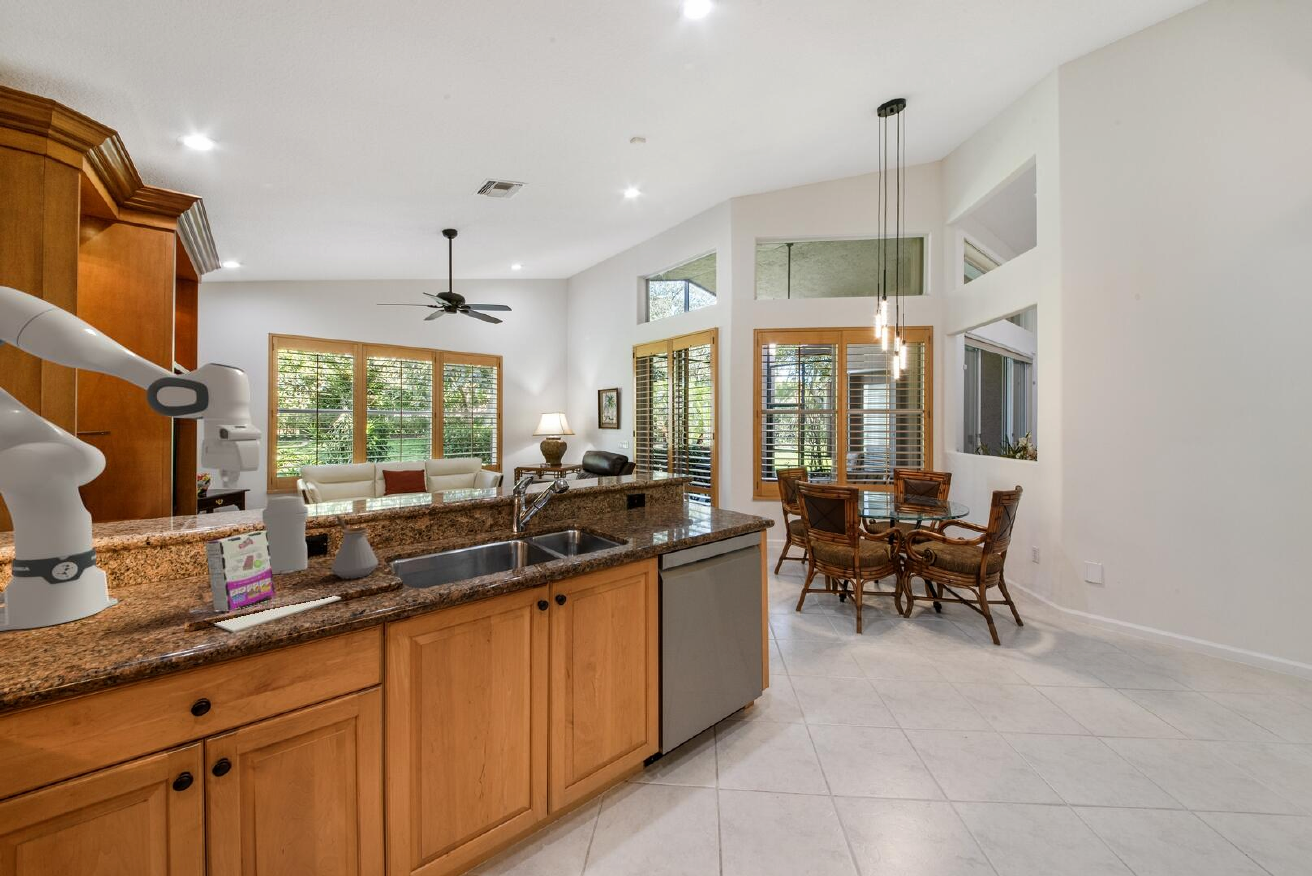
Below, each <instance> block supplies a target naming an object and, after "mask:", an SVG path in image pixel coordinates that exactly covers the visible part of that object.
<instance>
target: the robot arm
mask: <svg viewBox="0 0 1312 876" xmlns="http://www.w3.org/2000/svg"><path fill="white" fill-rule="evenodd" d="M5 343H7V344H9V345H11V346H13V347H16V348H17V349H20V350H22V351H23V352H25V353H28V354H31V355H32V356H34V357H37V358H39V359H43V360H45V361H48V362H50V363H54V364H57V365H61V366H65V367H69V368H75V369H79V370H86V371H91V372H95V373H102V374H105V375H110V376H114V377H117V378H120V379H122V380H124V381H127V382H129V383H132V384H133V385H136V386H137V387H140V388H141V389H144V390H146V393H145V394H146V402H147V404H148V406H149V407H150V408H151V409H152V411H154V412H155V413H157V414H159V415H162V416H165V417H169V418H176V419H178V418H179V419H192V420H203V440H202V442H201V449H200V450H201V452H200V453H201V454H200V455H201V456H200V462H201V463H200V464H201V466H202V468H203V469H210V470H218V471H219V473H218V474H219V477H220V479H221V481H222V489H226V490H227V489H229V490H234V489H235V490H236V489H237V488H238V481H239V479H240V475H241V473H243V472H244V473H245V472H255V471H258V470H259V467H260V465H261V444H260V441H259V440H261V439H262V431H261V430H260V429H259V428H257V427H256V426H255V425H254V424H252V416H251V414H250V405H251V400H252V399H251V397H252V396H251V387H250V381H249V380H250V379H249V377H248V374H247V373H246V372H245V371H244V370H243V369H241V368H240V367H235V366H232V365H229V364H228V365H227V364H222V363H215V362H209V363H205V364H204V365H203V366H202V367H199V368H198V369H197V368H196V369H194V370H192V371H187V372H185V373H180V374H178V373H176V372H174V371H173V372H172V371H171V370H169V369H166V368H164V367H163V366H161V365H159V364H156V363H154V362H152V361H151V360H148V359H147V358H144V357H142V356H140V355H138V354H136V353H134V352H133V351H132V350H130V349H128V348H126V347H125V346H124V345H121V344H120V343H118V342H117V341H115V340H114V339H112V338H111V337H109V336H107V335H106V334H105V333H103V332H101V331H100V330H99V329H97V328H95V327H94V326H92V325H91V324H89V322H88V323H87V322H86V321H84V320H83V319H81V318H80V317H78V316H76V315H74V314H73V313H70V312H69V311H67V310H65V309H63V308H60V307H58V306H56V304H53V303H50V302H48V301H46V300H43V299H41V298H39V297H36V296H34V295H31V294H29V293H26V292H23V291H21V290H18V289H15V288H11V287H8V286H3V285H0V348H1V347H2V346H3V345H5ZM106 463H107V462H106V457H105V455H104V454H103V452H102V451H101V450H100V449H98V448H97V447H95V446H94V445H91V444H89V443H87V442H85V441H82V440H81V439H79V438H78V437H76V436H74V435H73V434H71V433H70V432H68V431H66V430H65V429H63V428H61V427H60V426H58V425H56V424H55V423H52V422H50V421H49V420H47V419H46V418H44V417H43V416H41V415H39V414H37V413H35V411H33V410H31V409H30V408H28V407H27V406H26V405H24V404H23V403H22V402H20V401H19V400H18V399H17V398H15V397H14V396H12V394H10V393H9V392H7V391H6V390H5V389H4V388H2V386H0V494H1V495H2V498H3V499H4V502H5V505H6V507H7V509H8V512H9V515H10V517H11V521H12V526H13V539H14V542H13V543H14V558H13V559H12V562H11V565H10V569H11V573H10V574H11V576H12V578H11V579H10V581H9V582H8V583H7V584H6V586H5V588H4V590H3V591H2V592H0V605H2V606H0V632H2V631H9V630H10V631H11V630H22V629H24V630H25V629H36V628H41V627H49V626H53V625H58V624H63V623H68V622H72V621H76V620H79V619H80V620H81V619H83V618H87V617H90V616H93V615H95V614H97V613H100V612H102V611H103V610H105V609H107V608H108V607H109V608H110V607H112V606H114V605H117V604H118V603H119V602H118V601H119V600H118V598H116V597H110V596H109V592H108V591H109V590H108V583H107V573H106V571H105V570H103V569H101V568H99V567H97V566H96V564H97V557H98V556H97V555H98V554H97V553H96V549H95V547H93V525H92V523H93V521H92V520H93V519H92V514H91V513H90V511H88V510H87V509H86V507H85V506H84V503H83V501H82V498H81V495H80V492H79V487H81V486H84V485H86V484H89V483H90V482H92V481H93V480H95V479H96V478H97V477H99V476H100V475H101V474H102V473H103V471H104V470H105V468H106V465H107V464H106ZM3 604H4V606H3Z"/></svg>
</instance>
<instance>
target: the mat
mask: <svg viewBox="0 0 1312 876" xmlns="http://www.w3.org/2000/svg"><path fill="white" fill-rule="evenodd" d="M308 590H313V589H311V588H310V589H308ZM340 600H342V597H340V596H338V595H337V596H336V595H334V596H332V597H328V598H325V599H320V600H316V601H310V602H306V603H301V604H296V605H289V606H284V607H280V608H275V609H270V610H265V611H263V612H259V613H255V614H250V615H246V616H241V617H238V618H233V619H229V620H225V621H221V622H217V623H214V624H215V625H214V626H216V627H218V628H220V629H224V630H227V631H229V632H231V633H236V632H237V633H238V632H240V631H243V630H247V629H249V628H252V627H255V626H259V625H263V624H265V623H269V622H271V621H275V620H278V619H281V618H285V617H288V616H292V615H294V614H298V613H301V612H304V611H308V610H311V609H314V608H317V607H319V606H323V605H327V604H330V603H333V602H336V601H340ZM267 601H268V600H267ZM267 601H265V602H267Z"/></svg>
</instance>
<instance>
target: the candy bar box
mask: <svg viewBox="0 0 1312 876" xmlns="http://www.w3.org/2000/svg"><path fill="white" fill-rule="evenodd" d="M204 545H205V551H206V557H207V558H206V559H207V567H208V572H209V581H210V589H211V590H210V591H211V596H212V605H213V611H214V610H222V611H223V610H224V611H230V610H233V609H235V608H238V607H242V608H245V607H247V606H246V605H248V606H250V605H252V603H253V604H257V602H258V603H259V602H260V601H264V600H267V599H269V598H271V597H274V596H276V595H275V593H276V592H275V585H274V578H273V576H274V575H272V568H271V561H270V552H269V545H268V536H267V531H266V530H256V531H250V532H246V533H241V534H237V535H232V536H229V537H228V536H227V537H224V538H219V539H215V540H211V541H206V542H205V543H204ZM249 604H250V605H249ZM244 606H245V607H244Z"/></svg>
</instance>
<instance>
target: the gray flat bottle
mask: <svg viewBox="0 0 1312 876" xmlns="http://www.w3.org/2000/svg"><path fill="white" fill-rule="evenodd" d="M261 513H262V514H261V515H262V523H263V525H265V531H267V536H268V545H269V552H270V561H271V568H272V576H274V575H282V574H283V575H286V574H289V573H290V574H291V573H295V572H300V571H305V570H308V545H307V542H306V523H307V522H306V521H307V520H308V517H309V507H308V506H306V505H305V504H304V501H303V497H302V496H291V495H289V496H288V495H284V496H283V495H282V496H279V497H275V498H269V499H268V501H267V505H266V508H264V509H263V510H262V511H261Z"/></svg>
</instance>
